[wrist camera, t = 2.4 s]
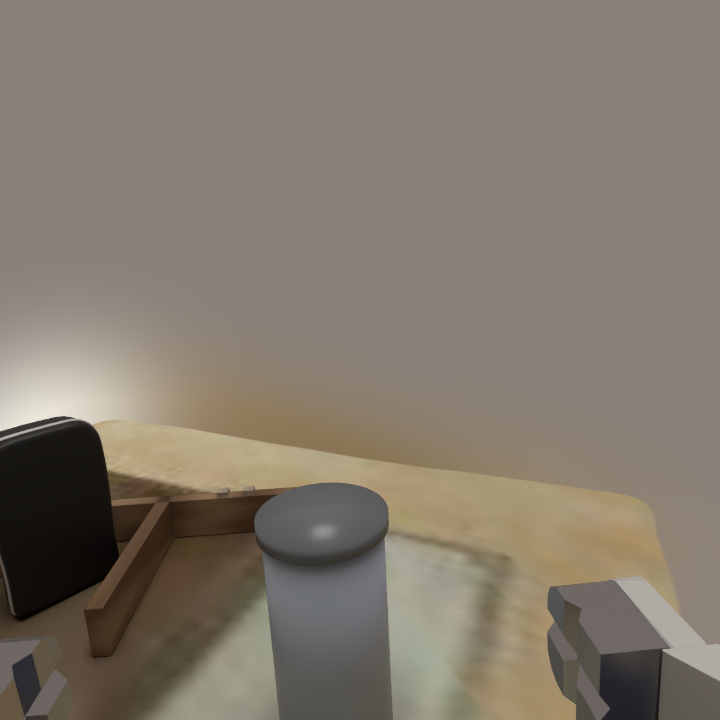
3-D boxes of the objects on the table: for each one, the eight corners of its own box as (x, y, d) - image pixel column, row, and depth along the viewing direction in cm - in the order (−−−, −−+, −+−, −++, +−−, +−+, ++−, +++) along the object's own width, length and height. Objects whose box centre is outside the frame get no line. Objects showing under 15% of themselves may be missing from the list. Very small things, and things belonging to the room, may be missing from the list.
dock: (-113, 673, 29) (-129, 619, 28) (23, 541, 41) (14, 502, 41) (310, 639, 30) (305, 585, 29) (316, 520, 42) (313, 481, 42)
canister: (271, 801, 21) (244, 556, 19) (283, 689, 26) (263, 487, 24) (405, 788, 21) (395, 544, 19) (390, 680, 27) (381, 478, 24)
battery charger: (102, 550, 40) (76, 405, 37) (126, 568, 37) (100, 414, 35) (-6, 601, 34) (-45, 436, 32) (15, 625, 32) (-25, 449, 30)
